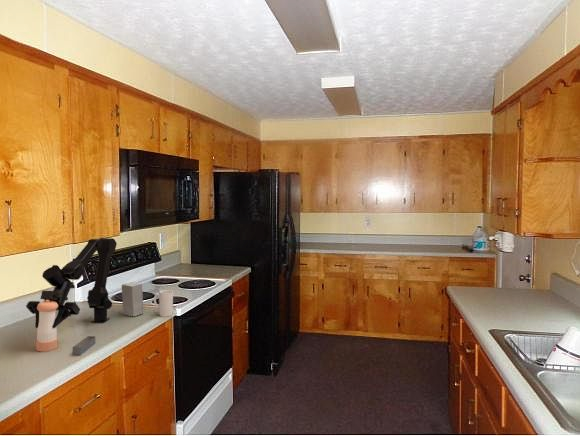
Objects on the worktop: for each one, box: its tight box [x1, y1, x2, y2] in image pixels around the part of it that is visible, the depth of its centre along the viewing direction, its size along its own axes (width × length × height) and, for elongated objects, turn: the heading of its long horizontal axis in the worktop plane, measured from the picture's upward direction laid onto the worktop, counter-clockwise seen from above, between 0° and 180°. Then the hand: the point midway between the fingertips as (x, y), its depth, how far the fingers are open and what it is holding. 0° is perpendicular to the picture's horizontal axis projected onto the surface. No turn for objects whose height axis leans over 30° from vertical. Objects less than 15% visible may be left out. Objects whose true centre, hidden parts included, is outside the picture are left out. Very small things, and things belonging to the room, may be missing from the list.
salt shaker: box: [35, 299, 59, 352], centre depth 157 cm, size 7×7×19 cm
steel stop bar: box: [72, 335, 96, 356], centre depth 158 cm, size 12×3×3 cm, turn 1°
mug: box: [153, 289, 174, 318], centre depth 205 cm, size 10×7×12 cm, turn 78°
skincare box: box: [121, 281, 144, 318], centre depth 204 cm, size 8×7×16 cm
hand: (44, 327), depth 156 cm, fingers closed on salt shaker, 6 cm apart
